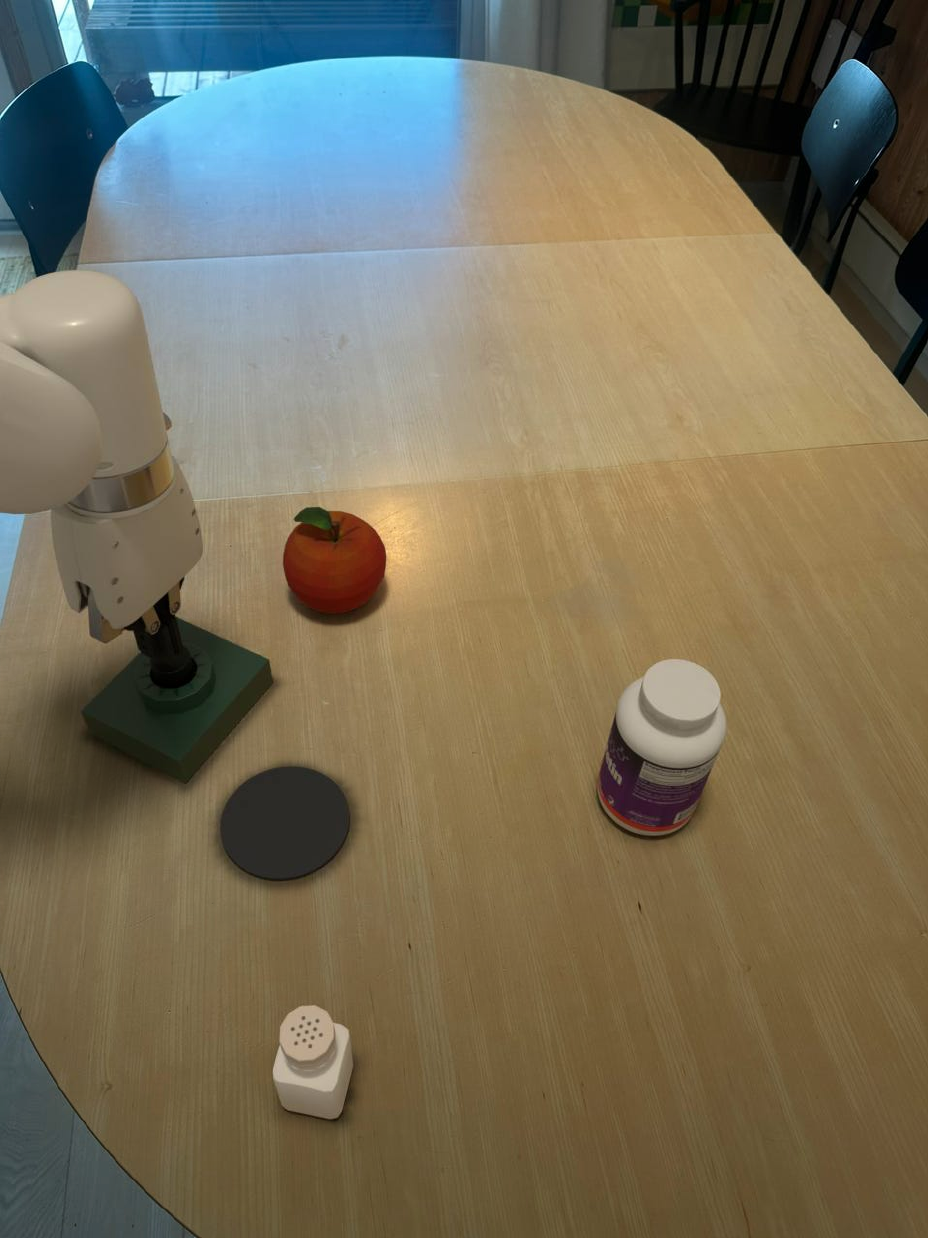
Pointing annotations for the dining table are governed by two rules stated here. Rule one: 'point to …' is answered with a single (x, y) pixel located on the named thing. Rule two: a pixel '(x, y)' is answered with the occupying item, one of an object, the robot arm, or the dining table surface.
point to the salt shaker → (313, 1063)
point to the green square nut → (180, 704)
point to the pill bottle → (662, 747)
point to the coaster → (285, 823)
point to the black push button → (173, 670)
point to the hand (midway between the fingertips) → (161, 650)
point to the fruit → (333, 560)
